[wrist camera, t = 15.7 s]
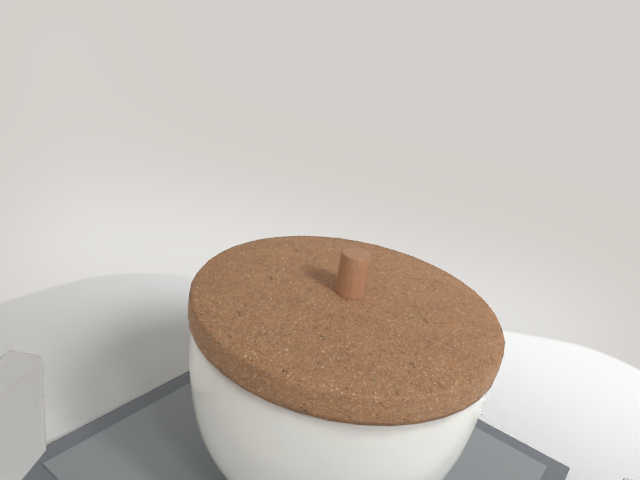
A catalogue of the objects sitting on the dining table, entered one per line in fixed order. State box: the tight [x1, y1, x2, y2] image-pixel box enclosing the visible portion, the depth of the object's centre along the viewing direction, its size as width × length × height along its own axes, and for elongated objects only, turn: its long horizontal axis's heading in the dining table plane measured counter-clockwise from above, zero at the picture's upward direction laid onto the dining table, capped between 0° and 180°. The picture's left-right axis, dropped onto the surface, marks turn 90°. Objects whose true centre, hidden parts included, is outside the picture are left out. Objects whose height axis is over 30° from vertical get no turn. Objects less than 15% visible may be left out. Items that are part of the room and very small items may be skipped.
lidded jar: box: [188, 236, 505, 480], centre depth 21 cm, size 11×11×9 cm
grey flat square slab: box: [22, 371, 570, 480], centre depth 23 cm, size 16×16×1 cm
